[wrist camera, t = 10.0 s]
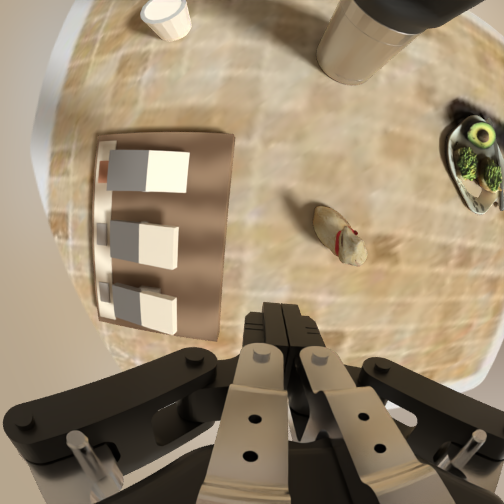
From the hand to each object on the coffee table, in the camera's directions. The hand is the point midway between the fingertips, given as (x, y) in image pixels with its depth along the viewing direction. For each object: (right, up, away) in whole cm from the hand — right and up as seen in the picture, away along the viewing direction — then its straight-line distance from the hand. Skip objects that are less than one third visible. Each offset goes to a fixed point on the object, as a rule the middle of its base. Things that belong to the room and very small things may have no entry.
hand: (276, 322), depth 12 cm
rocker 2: (-16, -4, +23) cm, 28 cm away
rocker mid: (-15, +4, +21) cm, 26 cm away
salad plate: (+40, +20, +23) cm, 50 cm away
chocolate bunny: (+10, +6, +26) cm, 29 cm away
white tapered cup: (-13, +39, +19) cm, 45 cm away
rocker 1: (-14, +13, +19) cm, 27 cm away
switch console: (-15, +6, +27) cm, 31 cm away
